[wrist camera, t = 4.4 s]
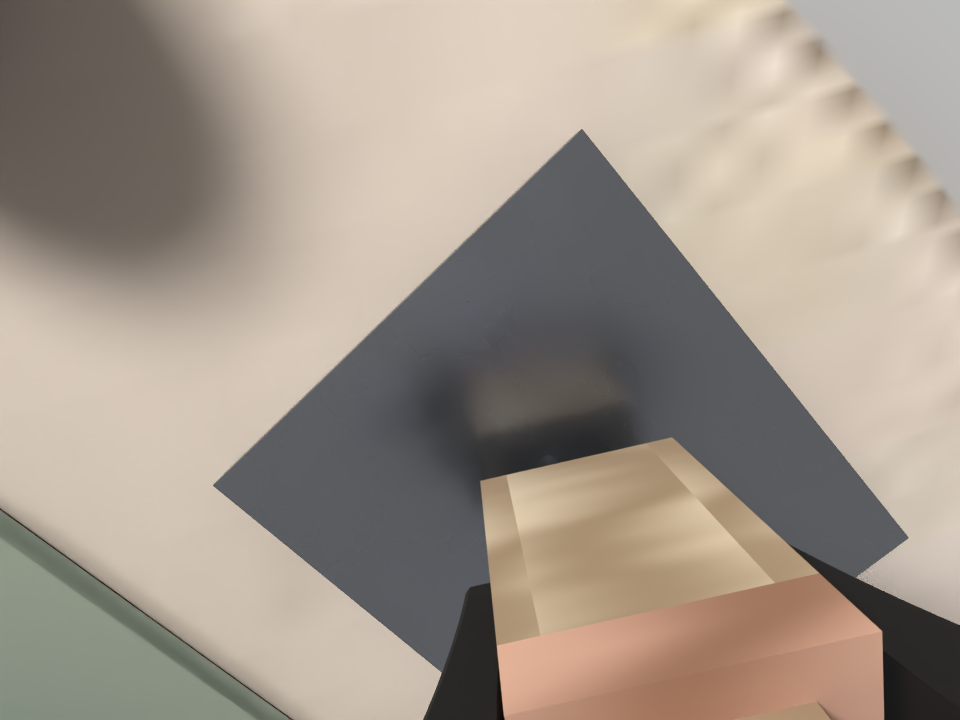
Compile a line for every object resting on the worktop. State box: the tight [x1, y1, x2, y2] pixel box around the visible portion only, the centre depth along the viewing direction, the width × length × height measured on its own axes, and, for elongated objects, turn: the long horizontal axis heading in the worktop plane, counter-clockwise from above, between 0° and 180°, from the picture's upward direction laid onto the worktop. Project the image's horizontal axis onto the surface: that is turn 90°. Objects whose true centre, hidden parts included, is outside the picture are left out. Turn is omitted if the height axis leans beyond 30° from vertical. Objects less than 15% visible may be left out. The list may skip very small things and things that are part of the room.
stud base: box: [213, 129, 908, 672], centre depth 11 cm, size 14×12×5 cm
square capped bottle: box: [480, 437, 884, 720], centre depth 8 cm, size 4×4×8 cm
